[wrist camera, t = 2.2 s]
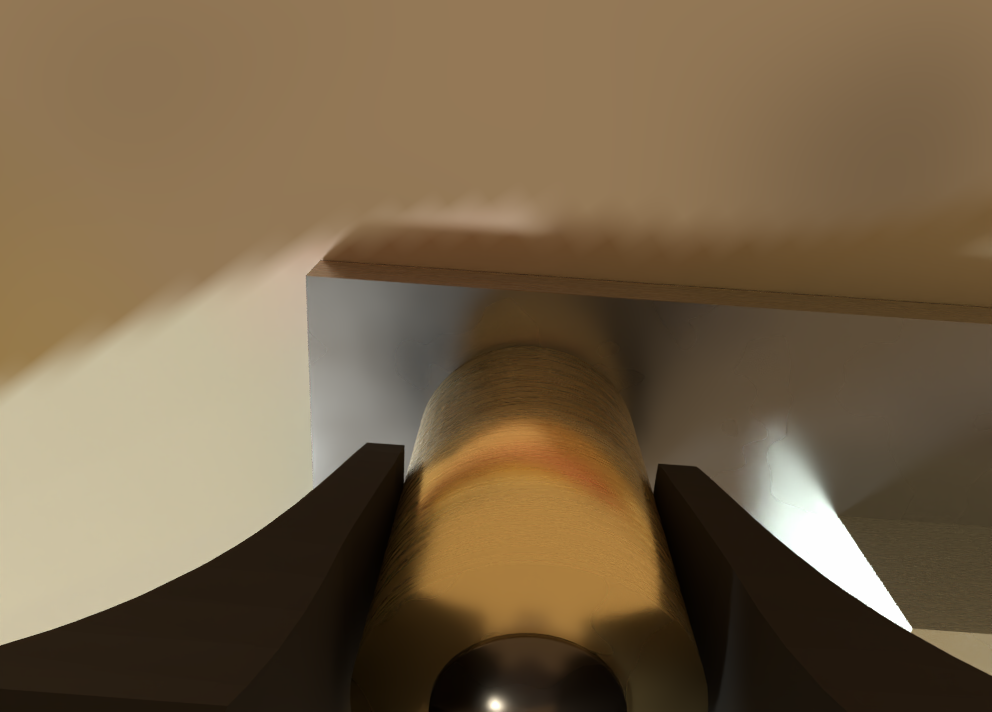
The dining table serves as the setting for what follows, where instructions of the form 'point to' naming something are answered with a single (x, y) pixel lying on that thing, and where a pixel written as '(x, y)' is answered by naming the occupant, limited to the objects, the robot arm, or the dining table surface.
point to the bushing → (527, 556)
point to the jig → (718, 409)
